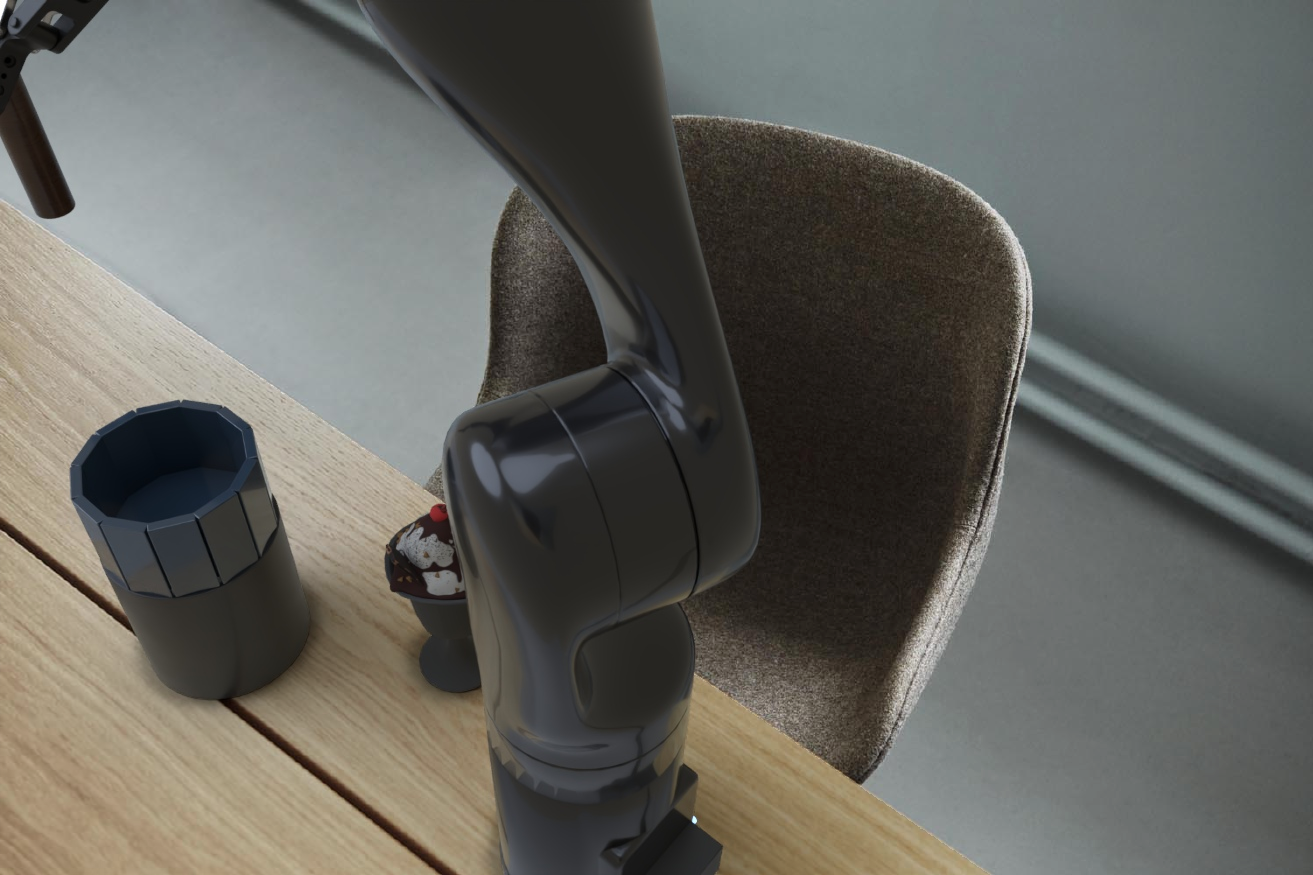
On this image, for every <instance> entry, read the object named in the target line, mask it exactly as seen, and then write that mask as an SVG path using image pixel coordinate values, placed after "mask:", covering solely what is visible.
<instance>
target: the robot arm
mask: <svg viewBox="0 0 1313 875" xmlns="http://www.w3.org/2000/svg"><path fill="white" fill-rule="evenodd" d="M109 1H110V0H23V1H22V3H20V5H19V6H18V7H17V8H16V6H17V2H18V0H0V115H1V114H2V113H3V112H4V110H5V107H6V105H7V103H8V102H9V100H10V97H11V95H12V91H13V90H14V87H15V83H16V82H17V80H18V78H19V75H20V74H21V73H22V71H23V68H24V66H25V63H26V60H27V58H28V56H30V54H31V55H37V54H38V53H40V52H41V51H44V50H47V51H49V52H51V53H53V54H55V55H60V54H62V53H63V52H65V50H66V49H67V48H68V47H69V46H70V45H71V43H72V42H73V41H74V40H75V39H76V38H77V37H78V36H79V35H80V33H81V32H83V30H84V29H85V28H86V27H87V26H88V24H89V23H91V21H92V20H93V19H94V18H95V17H96V16H97V14H98V13H99V12H100V11H101V10H102V9H103V8H104V7H105V6H106V5H107V3H109ZM356 2H357V5H358V6H359V9H360V11H361V13H362V15H363V17H365V19H366V21H367V23H368V25H369V26H370V27H371V29H372V31H373V33H374V34H375V35H376V37H378V39H379V41H380V42H381V44H382V45H383V46H384V47H385V48H386V50H387V51H388V52H389V54H390V55H391V56H392V57H393V58H394V60H395V61H396V62H397V63H398V65H399V66H400V67H401V68H402V69H403V71H404V72H405V73H406V74H408V76H409V77H410V78H411V79H412V80H413V81H414V82H415V83H416V85H418V87H419V88H420V89H421V90H422V92H424V93H425V94H426V96H428V97H429V98H430V99H431V100H432V101H433V103H434V104H435V105H436V106H438V108H439V109H440V110H442V112H443V113H444V114H446V116H447V117H448V118H449V119H450V120H451V121H452V122H453V123H454V124H455V125H457V127H458V128H460V130H462V132H464V133H465V134H466V135H467V136H468V137H469V138H470V139H471V140H472V141H473V142H474V143H475V145H477V146H478V147H479V148H480V149H481V150H482V151H483V153H485V154H486V155H487V156H488V157H489V158H490V159H491V160H492V161H493V162H494V163H495V164H497V165H498V167H499V168H501V169H502V170H503V172H505V173H506V174H507V176H508V177H509V178H510V179H511V180H512V181H513V182H514V184H516V186H518V187H519V189H520V190H521V191H522V192H523V193H524V194H525V195H526V196H527V198H528V199H529V200H530V201H531V202H532V203H533V205H534V206H535V207H536V208H537V209H538V211H539V212H540V213H541V215H542V216H543V217H544V218H545V220H546V221H547V222H548V224H549V225H550V226H551V227H552V229H553V230H554V231H555V232H556V234H557V236H558V237H559V238H560V240H561V241H562V242H563V244H564V246H565V247H566V248H567V250H568V252H569V253H570V256H571V257H572V259H573V260H574V262H575V264H576V266H577V268H578V270H579V273H580V274H581V277H582V279H583V281H584V283H585V285H586V288H587V290H588V292H589V295H590V297H591V300H592V303H593V305H594V308H595V311H596V314H597V317H598V320H599V324H600V327H601V330H602V335H603V340H604V343H605V350H606V363H603V364H601V365H599V366H594V367H590V368H587V369H585V370H581V371H578V372H575V373H571V374H568V375H566V376H562V377H560V378H557V379H554V380H551V381H548V382H544V383H542V384H538V385H536V386H533V387H529V388H527V389H523V390H521V391H518V392H515V393H512V394H509V395H506V396H503V397H500V398H496V399H493V400H490V401H487V402H484V403H482V404H479V405H476V406H474V407H471V408H469V409H467V410H465V411H463V412H462V413H461V414H459V415H457V417H456V418H455V419H454V420H453V421H452V423H451V425H450V426H449V428H448V430H447V432H446V435H445V438H444V441H443V446H442V456H441V475H442V489H443V496H444V501H445V504H446V507H447V513H448V518H449V522H450V527H451V531H452V535H453V539H454V544H455V548H456V552H457V556H458V561H459V565H460V569H461V574H462V579H463V584H464V589H465V596H466V603H467V610H468V616H469V622H470V627H471V633H472V638H473V642H474V647H475V652H476V656H477V661H478V666H479V671H480V679H481V686H480V687H481V694H482V703H483V710H484V718H485V726H486V738H487V745H488V754H489V760H490V762H489V763H490V769H491V777H492V778H491V779H492V786H493V794H494V802H495V809H496V810H495V811H496V818H497V828H498V834H499V856H500V863H501V864H500V865H501V870H502V874H503V875H716V873H718V871H719V870H720V865H721V860H722V855H723V849H724V845H723V844H722V843H721V842H719V841H718V840H716V839H715V838H714V837H713V836H712V835H710V834H709V833H708V832H706V831H705V830H704V829H702V828H701V827H700V826H698V825H697V824H696V823H697V821H698V820H697V818H696V817H695V815H694V814H695V809H696V802H697V795H698V789H699V780H700V777H699V774H698V772H697V771H695V770H694V769H693V768H692V767H690V766H689V765H687V764H686V763H684V760H685V751H686V743H687V734H688V727H689V720H690V712H691V711H690V710H691V703H692V694H693V687H694V679H695V673H696V672H695V671H696V653H697V652H696V643H695V642H696V641H695V638H694V637H695V636H694V633H693V630H692V626H691V624H690V620H689V619H688V616H687V614H686V611H685V610H684V608H683V606H682V605H681V603H680V602H682V601H684V600H687V599H690V598H692V597H694V596H697V595H699V594H701V593H703V592H705V591H707V590H709V589H711V588H713V587H715V586H718V585H720V584H722V583H724V582H726V581H727V580H729V579H730V578H732V577H734V576H736V575H737V574H738V573H740V572H741V571H743V570H744V569H746V567H747V566H748V565H749V564H750V563H751V561H752V560H753V558H754V556H755V554H756V551H757V549H758V546H759V543H760V540H761V536H762V524H763V523H762V521H763V504H762V487H761V479H760V473H759V466H758V461H757V456H756V450H755V445H754V441H753V437H752V432H751V428H750V425H749V420H748V416H747V412H746V409H745V404H744V399H743V395H742V392H741V388H740V385H739V384H740V383H739V381H738V377H737V373H736V369H735V366H734V362H733V359H732V355H731V351H730V348H729V343H728V340H727V336H726V332H725V329H724V324H723V321H722V318H721V314H720V310H719V306H718V302H717V299H716V295H715V291H714V288H713V284H712V280H711V277H710V273H709V270H708V266H707V262H706V258H705V255H704V251H703V247H702V243H701V240H700V236H699V231H698V228H697V225H696V221H695V216H694V213H693V209H692V205H691V199H690V195H689V191H688V187H687V183H686V182H687V181H686V177H685V174H684V169H683V163H682V160H681V154H680V150H679V149H680V148H679V144H678V140H677V135H676V130H675V126H674V121H673V116H672V110H671V109H672V108H671V103H670V98H669V92H668V87H667V82H666V77H665V76H666V75H665V71H664V65H663V59H662V53H661V47H660V42H659V37H658V36H659V35H658V31H657V26H656V19H655V15H654V14H655V13H654V9H653V3H652V0H356ZM15 8H16V9H15ZM55 15H61V16H60V17H59V18H58V19H57V20H56V21H55V22H54V24H51V23H52V20H53V18H54V16H55Z"/></svg>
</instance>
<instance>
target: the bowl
mask: <svg viewBox="0 0 1313 875" xmlns="http://www.w3.org/2000/svg"><path fill="white" fill-rule="evenodd" d="M68 472H69V493H70V496H69V498H70V501H71V503H72V505H73V507H74V510H75V511H76V513H77V515H78V517H79V519H80V521H81V524H82V525H83V527H84V529H85V532H86V534H87V536H88V537H89V539H90V542H91V544H92V545H93V546H92V547H94V549H95V552H96V554H97V556H98V558H99V561H100V560H101V562H102V564H103V566H104V568H105V569H106V570H107V571H109V572H110V573H111V574H112V575H113V576H114V577H115V578H116V579H117V580H118V581H119V582H121V583H122V584H123V585H124V586H125V587H126V588H127V589H128V590H130V589H131V591H133V592H139V593H145V594H151V595H157V596H164V597H170V598H173V596H175V597H180V596H184V595H188V594H192V593H196V592H200V591H204V590H208V589H212V588H216V587H220V584H226V583H227V582H228V581H230V580H231V579H233V578H234V577H235V576H237V575H238V574H239V573H241V572H242V571H244V570H245V569H246V568H248V567H249V566H251V565H252V564H253V563H255V562H256V561H258V557H261V556H262V554H263V553H264V551H265V549H266V547H267V545H268V543H269V541H270V539H271V537H272V535H273V533H274V531H275V529H276V527H277V522H278V521H277V516H276V511H275V506H274V501H273V495H274V494H273V495H272V493H273V491H272V490H271V488H272V487H271V485H270V481H269V479H268V476H267V472H266V469H265V465H264V461H263V458H262V455H261V452H260V448H259V445H258V441H257V438H256V435H255V432H254V428H252V425H251V424H249V423H248V422H247V421H245V420H244V419H243V418H242V417H240V416H239V415H237V414H236V413H235V412H234V411H233V410H231V409H229V407H227V406H225V405H224V406H223V405H222V404H217V403H211V402H204V401H197V400H191V399H181V400H180V399H175V400H170V401H165V402H160V403H155V404H151V405H145V406H142V407H137V408H135V410H134V409H131V410H129V411H128V412H126V413H124V414H123V415H121V416H119V417H117V418H116V419H114V420H112V421H111V422H109V423H107V424H106V425H104V426H102V427H100V428H99V429H97V430H95V431H94V433H92V434H91V435H90V436H89V438H88V439H87V440H86V442H85V443H84V445H83V446H82V448H81V449H80V450H79V451H78V453H77V454H76V456H75V457H74V459H73V460H72V461H71V463H70V467H69V471H68ZM101 562H100V563H101ZM102 564H101V565H102Z"/></svg>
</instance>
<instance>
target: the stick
mask: <svg viewBox="0 0 1313 875" xmlns="http://www.w3.org/2000/svg"><path fill="white" fill-rule="evenodd" d="M0 139H1V142H2V144H3V146H4V149H5V151H6V153H7V154H8V157H9V160H10V161H11V163H12V165H13V168H14V170H15V172H16V174H17V176H18V179H19V181H20V183H21V185H22V187H23V190H24V191H25V194H26V196H27V198H28V201H29V202H30V205H31V207H32V209H33V211H34V214H35V215H36V216H37V217H39V218H41V219H44V220H54V219H55V220H56V219H60V218H62V217H66V216H67V215H69V214H70V213H72V212H73V211H74V209H75V208H76V201H75V198H74V195H73V193H72V191H71V189H70V187H69V184H68V182H67V180H66V177H65V175H64V172H63V170H62V168H61V166H60V163H59V161H58V158H57V156H56V154H55V151H54V148H53V146H52V144H51V142H50V139H49V137H48V134H47V132H46V130H45V127H44V125H43V123H42V121H41V118H40V116H39V114H38V111H37V109H36V107H35V104H34V102H33V100H32V98H31V96H30V92H29V90H28V88H27V86H26V83H25V81H24V78H23V76H22V74H21V73H20V75H19V78H18V80H17V82H16V83H15V87H14V90H13V91H12V95H11V97H10V100H9V102H8V103H7V105H6V107H5V110H4V112H3V113H2V114H1V115H0Z"/></svg>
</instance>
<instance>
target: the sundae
mask: <svg viewBox="0 0 1313 875" xmlns="http://www.w3.org/2000/svg"><path fill="white" fill-rule="evenodd" d="M383 560H384V562H383V563H384V572H385V577H386V580H387V582H388V584H389V590H390V592H391V593H396V594H397V595H399V596H400V597H402V598H404V599H407V600H409V601H410V603H411V606H412V608H413V611H414V613H415V615H416V617H417V618H418V620H419V622H420V624H421V625H422V627H423V628H424V630H426V632H427V633H428V634H430V636H429V638H428V639H427V640H426V641H425V642H424V644H423V645H422V648H421V650H420V654H419V661H418V662H419V667H420V671H421V674H422V675H423V677H424V678H425V679H426V681H427V682H428V683H429V684H430V685H432V686H434V687H435V688H437V689H439V690H442V691H445V692H450V693H463V692H468V691H472V690H475V689H477V688H479V687H482V686H481V679H480V671H479V666H478V661H477V656H476V652H475V647H474V642H473V638H472V633H471V627H470V622H469V616H468V610H467V603H466V596H465V589H464V584H463V579H462V574H461V569H460V565H459V561H458V556H457V552H456V548H455V544H454V539H453V535H452V531H451V527H450V522H449V518H448V513H447V507H446V503H436V504H434V505H432V506H431V508H430V511H429V512H427V513H424V514H423V515H420V516H419V517H418V518H416V520H414V521H412V522H410V523H409V524H407V525H405V526H403V527H402V528H401V529H400V530H399V531H397V532H396V533H395V534H394V535H393V536H392V537H391V539H390V540H389V542H388V543H386V544H385V554H384V558H383Z"/></svg>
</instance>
